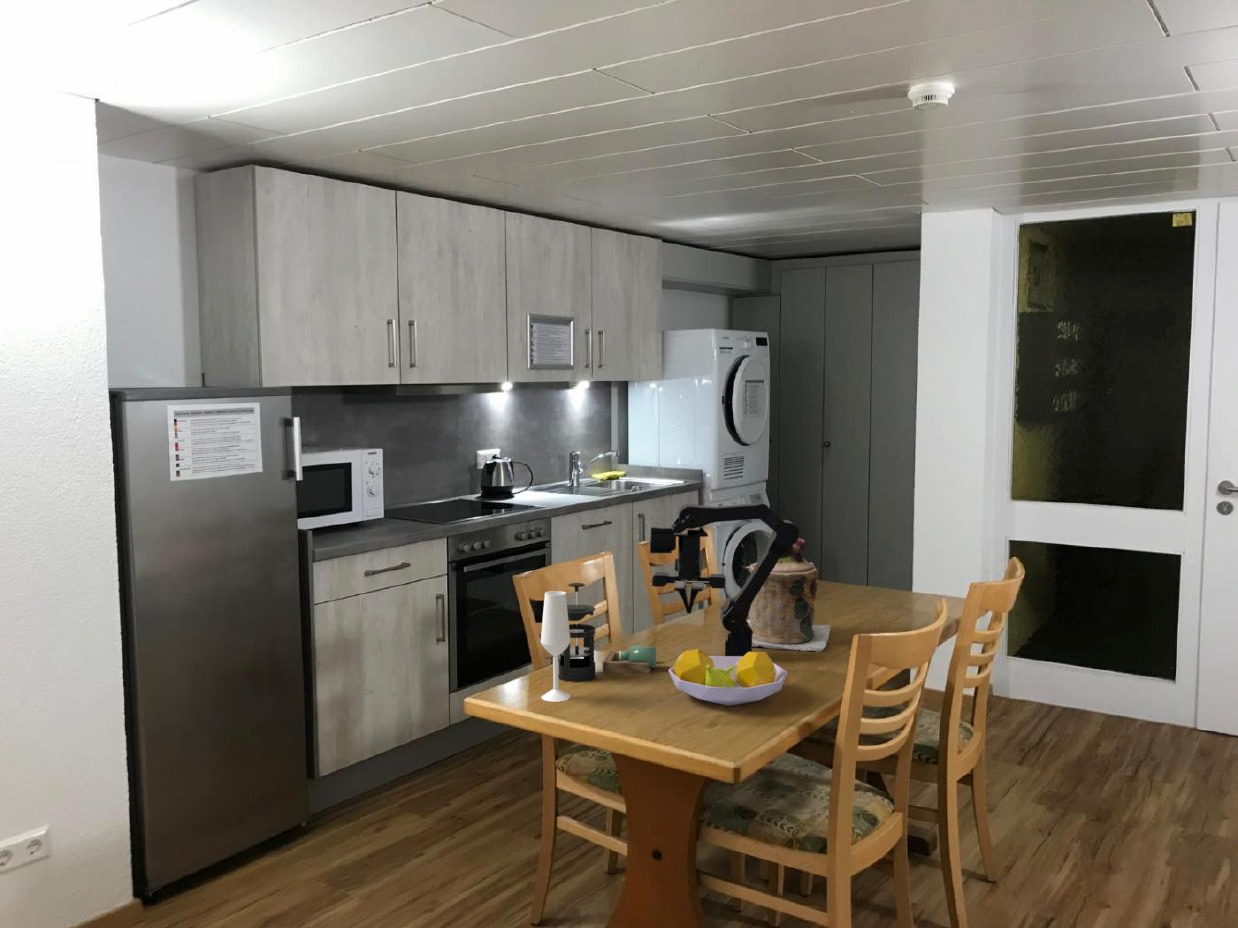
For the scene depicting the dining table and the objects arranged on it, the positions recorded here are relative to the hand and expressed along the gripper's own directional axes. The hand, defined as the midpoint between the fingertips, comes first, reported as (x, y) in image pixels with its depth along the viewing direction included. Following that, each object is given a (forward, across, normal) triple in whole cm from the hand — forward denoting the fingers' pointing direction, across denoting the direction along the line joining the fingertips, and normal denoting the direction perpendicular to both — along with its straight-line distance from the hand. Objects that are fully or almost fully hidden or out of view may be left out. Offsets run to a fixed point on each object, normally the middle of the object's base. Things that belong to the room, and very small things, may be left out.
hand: (689, 613), depth 260 cm
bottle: (+9, +7, +11) cm, 16 cm away
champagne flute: (+12, +27, +37) cm, 47 cm away
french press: (+12, +26, +20) cm, 35 cm away
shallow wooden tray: (+12, +14, +10) cm, 21 cm away
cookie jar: (+12, -24, -25) cm, 37 cm away
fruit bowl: (+12, -11, +31) cm, 35 cm away
